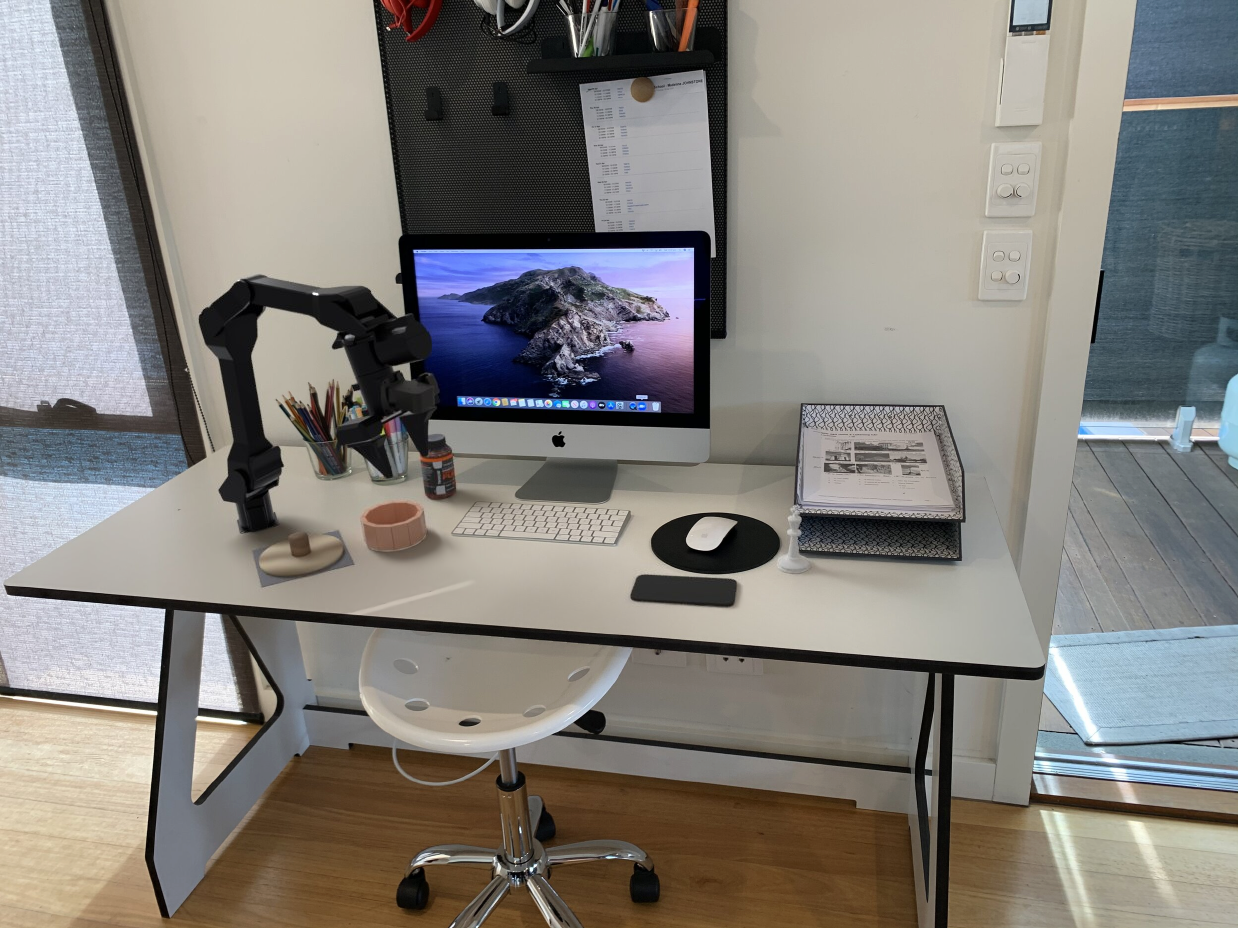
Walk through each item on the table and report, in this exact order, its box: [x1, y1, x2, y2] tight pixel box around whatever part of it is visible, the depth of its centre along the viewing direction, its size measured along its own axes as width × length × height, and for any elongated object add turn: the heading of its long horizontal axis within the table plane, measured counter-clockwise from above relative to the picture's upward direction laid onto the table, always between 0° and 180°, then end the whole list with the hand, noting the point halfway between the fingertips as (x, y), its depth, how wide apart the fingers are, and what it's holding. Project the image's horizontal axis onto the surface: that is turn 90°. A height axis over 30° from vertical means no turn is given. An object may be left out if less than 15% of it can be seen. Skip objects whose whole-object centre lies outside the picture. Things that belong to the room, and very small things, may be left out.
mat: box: [251, 529, 355, 588], centre depth 145 cm, size 14×14×1 cm
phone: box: [629, 574, 738, 608], centre depth 131 cm, size 7×1×15 cm
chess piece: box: [776, 504, 811, 574], centre depth 134 cm, size 5×5×10 cm
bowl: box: [359, 500, 428, 553], centre depth 149 cm, size 10×10×5 cm
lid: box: [259, 531, 344, 577], centre depth 144 cm, size 13×13×4 cm
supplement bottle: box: [419, 433, 457, 500], centre depth 165 cm, size 6×6×11 cm
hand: (408, 466), depth 139 cm, fingers open, 9 cm apart
